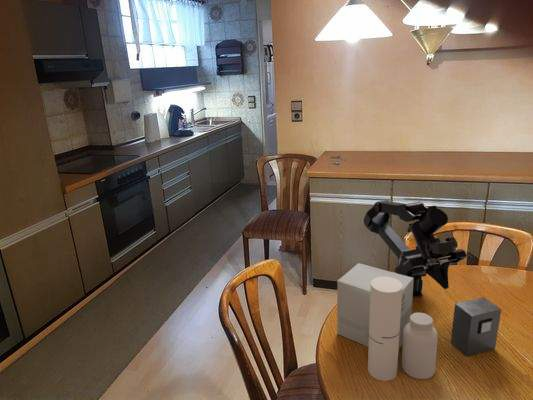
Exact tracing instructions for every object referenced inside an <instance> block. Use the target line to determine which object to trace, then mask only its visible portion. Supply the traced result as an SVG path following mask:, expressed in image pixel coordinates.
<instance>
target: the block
mask: <svg viewBox="0 0 533 400" xmlns="http://www.w3.org/2000/svg"><path fill="white" fill-rule="evenodd" d="M453 310H454V311H453V318H452V326H451V335H450V336H451V337H450V343H451V344H452V345H453V346H454V348H456V349H457V350H458V351H459V352H460V353H462V354H463V356H465V357H467V358H468V357H470V356H475V355H478V354H482V353H486V352H491V351H493V350H494V351H495V350H496V346H497V339H498V333H499V326H500V319H501V313H502V308H500V307H499V306H497V305H495V303H493V302H491V301H490V300H489V299H487V298H486V297H484V296H481V297H478V298H473V299H470V300H469V299H468V300H465V301H464V300H463V301H460V302H456V303H454V309H453ZM485 319H489V320H490V321H492V322H491V328H490V331H487V332H483V333H481V332H479V331H478V325H479V321H481V320H485Z"/></svg>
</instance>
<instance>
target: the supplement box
mask: <svg viewBox="0 0 533 400" xmlns="http://www.w3.org/2000/svg"><path fill="white" fill-rule="evenodd" d="M377 277H391V278H395V279H397V280H399V281H400V282H401V283H402V301H401V317H400V333H399V349H398V351H399V350H400V349H401V348H402V347H403V330H404V327H405V325H406V324H407V323H409V322H410V316H411V315H412V314H413V313H412V311H413V297H414V296H413V281H414V278H413V277H408V276H404V275H401V274H397V273H396V272H393V271H389V270H387V269H386V270H385V269H381V268H377V267H374V266H371V265H368V264H367V265H366V264H365V263H364V264H363V263H359V262H357V264H355V265H354V266H353V267H352V268H351V269H350V270H348V271H347V272H346V273H344V275H343V276H341V277H340V278H339V279H337V282H336V283H337V287H336V289H337V293H336V294H337V296H336V297H337V301H336V302H337V303H336V306H337V308H336V309H337V310H336V311H337V312H336V314H337V315H336V317H337V319H336V320H337V321H336V322H337V324H336V327H337V328H336V331H337V332H336V335H339V336H342V337H345V338H346V339H348V340H351V341H354V342H356V343H358V344H361V345H362V346H364V347H367V348H369V320H370V290H371V281H372V280H373V279H374V278H377Z"/></svg>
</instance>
